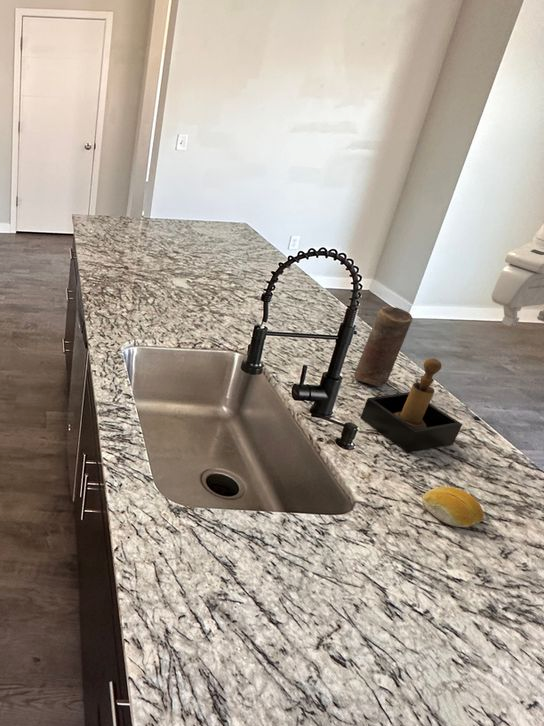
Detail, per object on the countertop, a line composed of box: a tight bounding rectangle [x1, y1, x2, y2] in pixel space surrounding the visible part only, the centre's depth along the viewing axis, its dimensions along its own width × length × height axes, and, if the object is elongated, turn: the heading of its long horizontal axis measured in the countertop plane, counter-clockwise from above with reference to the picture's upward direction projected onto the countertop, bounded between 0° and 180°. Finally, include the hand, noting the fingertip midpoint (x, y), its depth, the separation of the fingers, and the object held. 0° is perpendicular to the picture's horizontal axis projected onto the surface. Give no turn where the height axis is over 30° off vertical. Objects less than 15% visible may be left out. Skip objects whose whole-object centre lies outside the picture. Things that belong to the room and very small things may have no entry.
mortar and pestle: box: [394, 358, 442, 429], centre depth 116 cm, size 7×6×18 cm
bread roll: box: [422, 486, 484, 528], centre depth 98 cm, size 8×9×4 cm
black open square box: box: [360, 391, 463, 454], centre depth 119 cm, size 13×13×6 cm
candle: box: [353, 306, 413, 387], centre depth 135 cm, size 8×7×20 cm
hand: (526, 322), depth 106 cm, fingers open, 8 cm apart
